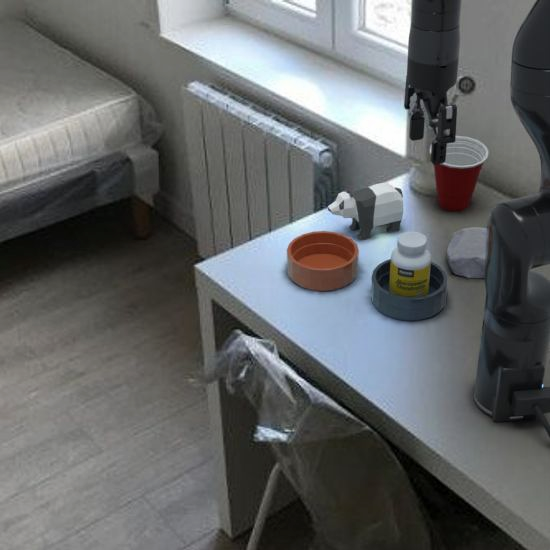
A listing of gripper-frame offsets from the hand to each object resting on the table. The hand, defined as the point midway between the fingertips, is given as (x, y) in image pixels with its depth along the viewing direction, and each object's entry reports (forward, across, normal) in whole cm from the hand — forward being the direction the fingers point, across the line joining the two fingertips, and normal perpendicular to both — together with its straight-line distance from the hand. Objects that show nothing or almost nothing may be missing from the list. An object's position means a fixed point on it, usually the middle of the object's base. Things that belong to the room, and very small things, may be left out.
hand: (426, 150), depth 153 cm
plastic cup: (+24, -20, +16) cm, 36 cm away
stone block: (+24, -2, +12) cm, 27 cm away
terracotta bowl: (+24, -7, -15) cm, 29 cm away
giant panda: (+24, -17, -3) cm, 30 cm away
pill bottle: (+24, +5, -4) cm, 25 cm away
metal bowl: (+24, +5, -4) cm, 25 cm away
